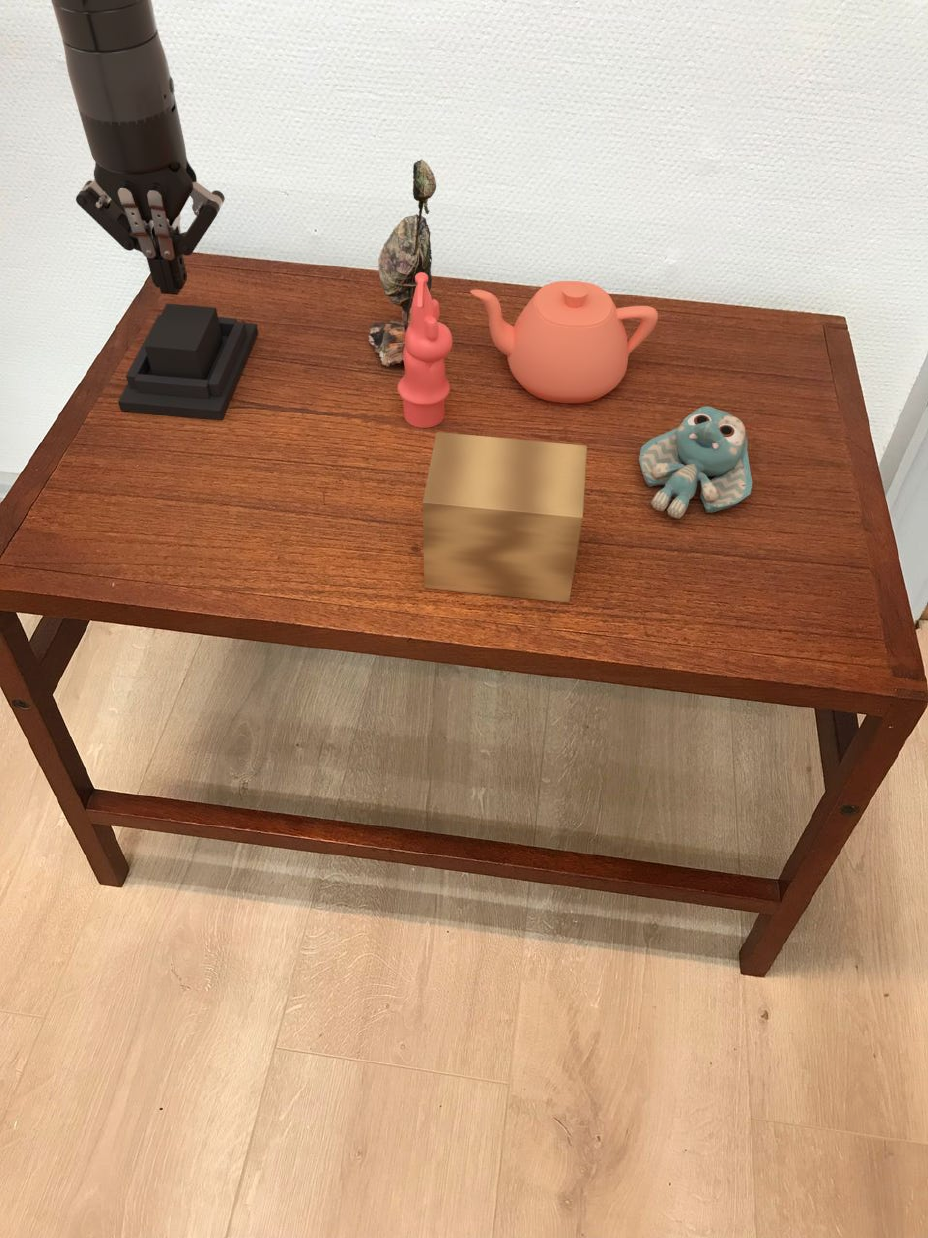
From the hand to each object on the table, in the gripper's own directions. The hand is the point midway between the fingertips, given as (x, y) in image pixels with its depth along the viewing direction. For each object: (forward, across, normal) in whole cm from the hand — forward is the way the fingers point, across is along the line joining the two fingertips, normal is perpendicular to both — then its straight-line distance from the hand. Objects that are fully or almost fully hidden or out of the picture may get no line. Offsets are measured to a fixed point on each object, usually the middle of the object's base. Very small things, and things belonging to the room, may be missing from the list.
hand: (173, 289), depth 91 cm
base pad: (+9, 0, 0) cm, 9 cm away
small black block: (+8, 0, 0) cm, 8 cm away
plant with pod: (+9, +20, +8) cm, 24 cm away
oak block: (+9, +33, -21) cm, 40 cm away
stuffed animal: (+9, +49, -10) cm, 51 cm away
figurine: (+9, +24, -4) cm, 26 cm away
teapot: (+9, +36, +5) cm, 38 cm away
